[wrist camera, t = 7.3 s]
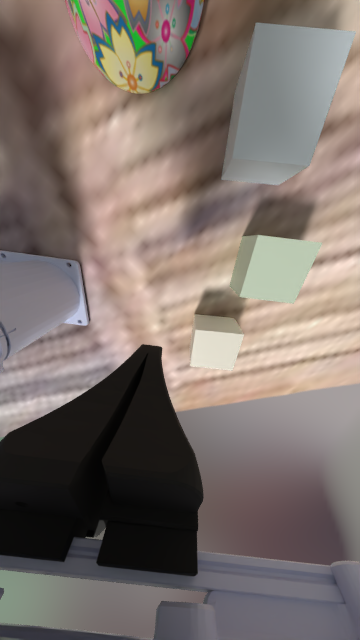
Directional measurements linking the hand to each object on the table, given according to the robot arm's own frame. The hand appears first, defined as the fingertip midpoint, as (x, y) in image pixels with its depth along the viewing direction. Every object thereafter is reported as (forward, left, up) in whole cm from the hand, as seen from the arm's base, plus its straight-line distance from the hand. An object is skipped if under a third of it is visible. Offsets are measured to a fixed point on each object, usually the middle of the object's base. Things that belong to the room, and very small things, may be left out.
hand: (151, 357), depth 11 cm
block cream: (+6, -3, -10) cm, 12 cm away
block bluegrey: (+6, +15, -10) cm, 19 cm away
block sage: (+9, +6, -10) cm, 15 cm away
